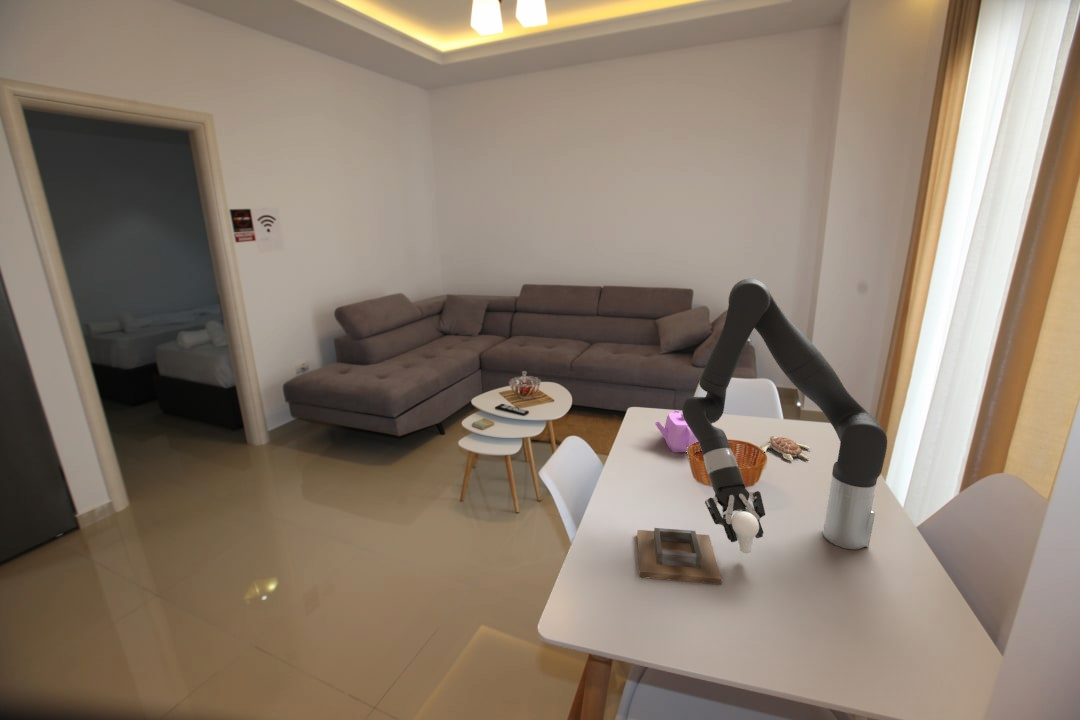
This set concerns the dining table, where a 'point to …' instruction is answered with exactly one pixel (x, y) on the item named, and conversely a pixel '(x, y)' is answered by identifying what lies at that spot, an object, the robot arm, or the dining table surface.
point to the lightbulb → (745, 529)
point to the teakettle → (677, 432)
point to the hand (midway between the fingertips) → (747, 539)
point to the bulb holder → (677, 556)
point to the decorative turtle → (786, 447)
